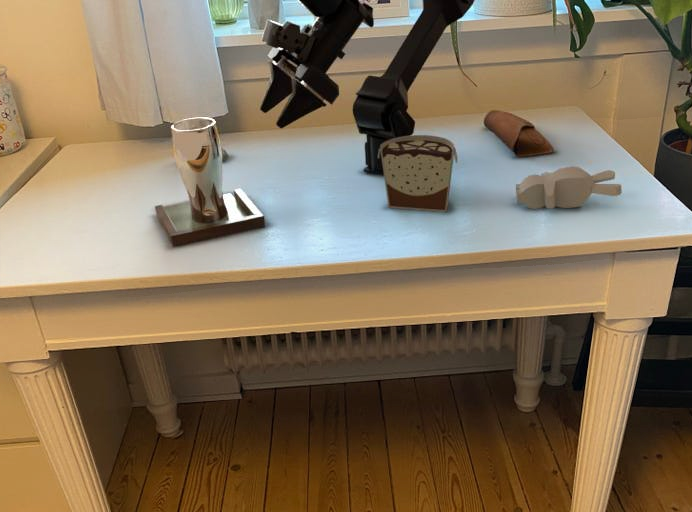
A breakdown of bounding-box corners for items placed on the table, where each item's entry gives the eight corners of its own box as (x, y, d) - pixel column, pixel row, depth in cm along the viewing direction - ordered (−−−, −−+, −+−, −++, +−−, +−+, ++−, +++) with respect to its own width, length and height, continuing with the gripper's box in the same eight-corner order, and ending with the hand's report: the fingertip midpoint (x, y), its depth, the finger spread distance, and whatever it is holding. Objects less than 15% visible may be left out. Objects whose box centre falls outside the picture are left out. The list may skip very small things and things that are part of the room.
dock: (153, 210, 124) (151, 199, 123) (237, 192, 129) (235, 182, 128) (173, 247, 112) (170, 236, 111) (265, 226, 116) (263, 215, 115)
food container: (464, 197, 121) (465, 135, 115) (455, 212, 116) (456, 149, 110) (390, 192, 124) (388, 132, 119) (379, 206, 120) (376, 145, 114)
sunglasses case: (558, 150, 135) (543, 120, 131) (525, 173, 136) (508, 144, 133) (523, 121, 149) (508, 94, 146) (493, 143, 151) (478, 116, 147)
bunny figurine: (513, 168, 119) (612, 155, 116) (515, 198, 122) (612, 186, 119) (517, 190, 111) (624, 177, 108) (519, 222, 114) (623, 210, 111)
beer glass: (222, 228, 116) (206, 131, 108) (181, 227, 117) (161, 131, 109) (237, 210, 122) (223, 117, 113) (197, 209, 123) (180, 117, 115)
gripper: (272, -11, 116) (215, 74, 120) (310, 5, 102) (243, 102, 105) (325, 36, 123) (269, 115, 126) (367, 58, 108) (303, 147, 112)
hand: (270, 118), depth 117 cm, fingers open, 9 cm apart
